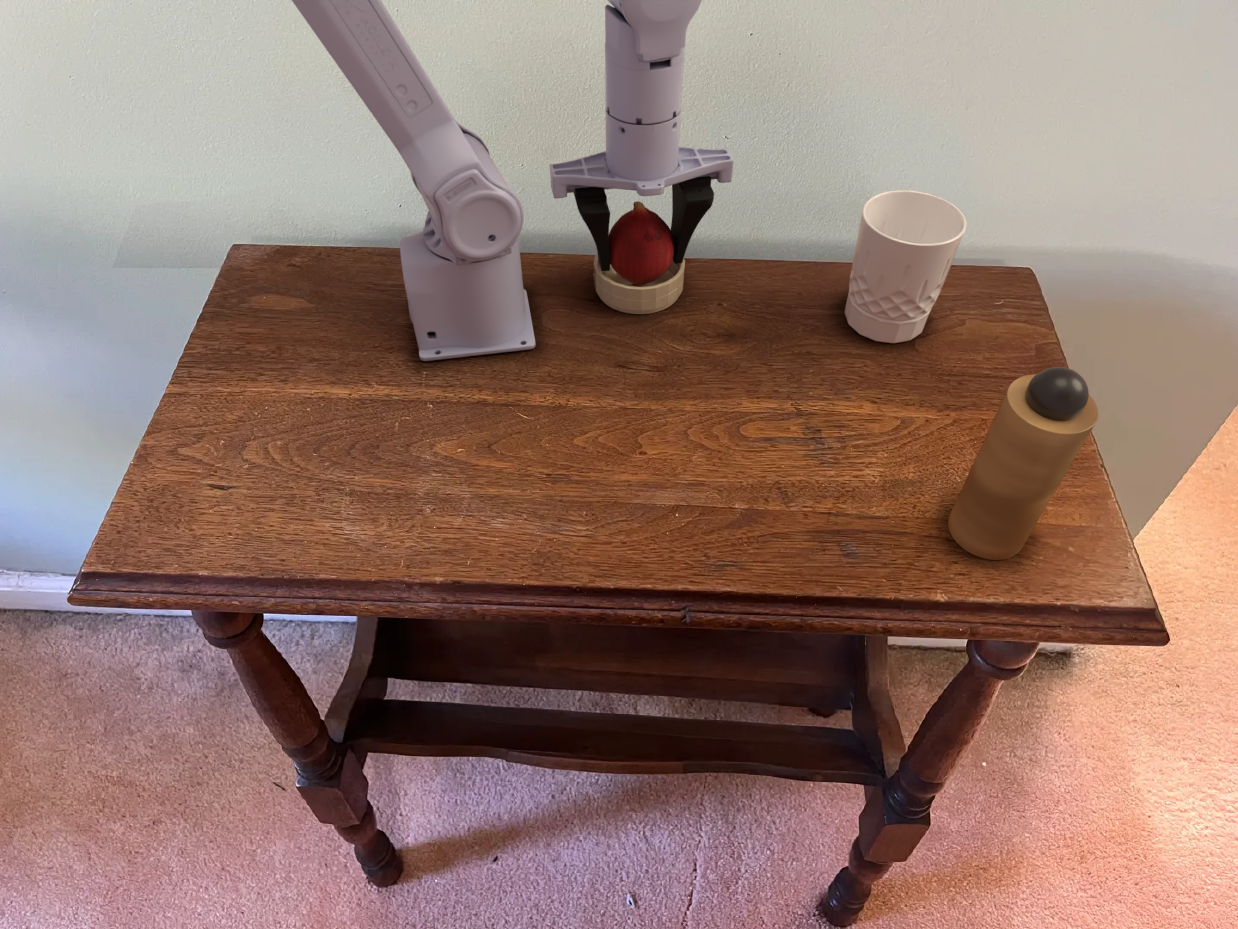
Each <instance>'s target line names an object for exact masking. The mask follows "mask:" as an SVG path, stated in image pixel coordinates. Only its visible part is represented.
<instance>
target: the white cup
mask: <svg viewBox="0 0 1238 929" xmlns="http://www.w3.org/2000/svg"><path fill="white" fill-rule="evenodd" d="M967 225H968V224H967V218H966V217H965V215H964V213H963V212H962V211H961V210H960V209H959V207H957V206H956V205H955V204H953V203H952V202H950V201H949V200H946V199H945V198H942V197H940V196H937V195H934V194H931V193H928V192H923V191H919V190H910V189H909V190H907V189H906V190H904V189H898V190H896V189H895V190H888V191H883V192H880V193H878V194H875V195H873V196H871V197H870V198H868V199H867V200H866V202H864V204H863V206H862V209H861V214H860V221H859V226H858V230H857V236H856V241H855V246H854V251H853V256H852V263H851V271H850V275H849V283H848V294H847V298H846V303H845V307H844V316H845V318H846V322H847V324H848V326H850V328H852V329H853V330H854V331H855V332H856V333H857V334H859V335H861V336H862V337H865V338H867V339H870V340H872V341H874V342H880V343H887V344H888V343H889V344H898V343H905V342H909V341H911V340H913V339H915V338H916V337H918V336H919V335H920V334H922V333H923V330H924V328H925V326H926V323H927V320H928V318H929V315H930V313H931V311H932V309H933V307H934V305H935V304H936V302H937V299H938V298H939V296H940V294H941V291H942V289H943V286H944V284H945V282H946V279H947V277H948V274H949V272H950V270H951V267H952V265H953V262H954V260H955V258H956V254H957V252H958V249H959V247H960V245H961V241H962V240H963V238H964V235H965V232H966V231H967Z"/></svg>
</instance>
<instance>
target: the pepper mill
mask: <svg viewBox="0 0 1238 929" xmlns="http://www.w3.org/2000/svg"><path fill="white" fill-rule="evenodd" d="M1089 392H1090V391H1089V387H1088V385H1087V382H1086V380H1085V378H1084V377H1083V376H1082V375H1081V374H1080V373H1078V372H1077V371H1075V370H1074V369H1072V368H1068V367H1064V366H1053V367H1048V368H1045V369H1043V370H1041V371H1039V372H1038V373H1033V374H1027V375H1023V376H1021V377H1018V378H1016V379H1015V380H1013V381H1012V382H1011V383H1010V384H1009V386H1008V388H1007V390H1006V392H1005V394H1004V397H1003V398H1002V401H1001V403H1000V405H999V407H998V409H997V412H996V414H995V415H994V417H993V420H992V422H991V424H990V427H989V429H988V431H987V433H986V435H985V438H984V439H983V442H982V444H981V446H980V448H979V451H978V453H977V455H976V456H975V459H974V461H973V463H972V464H971V465H972V466H971V467H970V470H969V471H968V474H967V476H966V479H965V481H964V483H963V485H962V487H961V489H960V492H959V494H958V496H957V497H956V500H955V502H954V505H953V506H952V509H951V511H950V513H949V515H948V518H947V527H948V528H947V529H948V530H949V531H948V532H949V533H950V535H951V537H952V539H953V540H954V541H955V543H956V544H957V545H958V546H959V547H961V549H963V551H964V550H965V551H966V552H967V553H969V554H970V555H973V556H976V557H978V558H981V559H984V560H990V561H1003V560H1004V561H1005V560H1007V559H1010V558H1012V557H1015V556H1016V555H1017V554H1019V553H1020V552H1021V550H1022V549H1023V547H1024V545H1025V544H1026V542H1027V540H1028V538H1030V535H1031V534H1032V532H1033V530H1034V529H1035V527H1036V525H1037V523H1038V522H1039V520H1040V519H1041V517H1042V515H1043V513H1044V512H1045V510H1046V508H1047V507H1048V505H1049V503H1050V502H1051V500H1052V499H1053V497H1054V495H1055V494H1056V491H1057V490H1058V488H1059V487H1060V485H1061V483H1062V481H1063V479H1064V478H1065V476H1066V474H1067V473H1068V471H1069V469H1070V468H1071V466H1072V464H1073V463H1074V462H1075V459H1076V458H1077V456H1078V454H1079V453H1080V451H1081V449H1082V448H1083V445H1085V442H1086V441H1087V439H1088V437H1089V436H1090V434H1091V432H1092V431H1093V429H1094V427H1095V425H1096V424H1097V422H1098V420H1099V409H1098V405H1097V403H1096V402H1095V400H1094V399H1093V397H1092V396H1091V395H1090V394H1089Z"/></svg>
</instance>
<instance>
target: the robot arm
mask: <svg viewBox="0 0 1238 929" xmlns="http://www.w3.org/2000/svg"><path fill="white" fill-rule="evenodd" d="M291 2H292V3H293V4H294V7H296V9H297V10H298V11H299V12H300V15H301V16H302V17H303V18H304V20H305V21H306V23H307V24H308V26H309V27H310V29H311V30H312V31H313V33H314V34H315V36H316V37H317V38H318V40H319V42H320V43H321V44H322V45H323V47H324V48H325V50H326V51H327V52H328V54H329V56H330V57H331V58H332V60H333V61H334V62H335V64H336V66H338V68H339V70H340V71H341V72H342V74H343V75H344V77H345V78H346V80H347V81H348V82H349V84H350V85H351V87H352V88H353V89H354V91H355V92H356V94H357V95H358V97H359V98H360V99H361V101H362V102H363V104H364V105H365V107H366V108H367V109H368V110H369V112H370V113H371V115H372V117H373V118H374V119H375V120H376V122H377V123H378V125H379V126H380V127H381V129H382V130H383V132H384V133H385V135H386V136H387V137H388V139H389V140H390V142H391V143H392V144H393V146H394V148H396V150H397V152H398V153H399V155H400V156H401V158H402V160H403V161H404V163H405V165H406V166H407V168H408V169H409V172H410V177H411V180H412V182H413V184H414V186H415V188H416V189H417V191H418V192H419V194H420V195H421V197H422V199H423V202H424V204H425V205H426V207H427V215H426V218H425V221H424V227H423V229H422V230H421V231H420V232H417V233H414V234H411V235H407V236H403V237H401V238H399V252H400V253H399V254H400V263H401V269H402V271H401V272H402V276H403V283H404V290H405V294H406V299H407V303H408V304H407V305H408V306H407V307H408V313H409V319H410V322H411V323H412V325H413V329H414V330H413V331H414V334H415V338H416V343H417V347H418V348H417V349H418V356H419V359H420V361H423V362H431V361H438V360H440V361H441V360H449V359H457V358H466V357H473V356H484V355H493V354H501V353H509V352H510V353H511V352H519V351H529V350H532V349H535V347H536V344H537V343H536V338H535V333H534V332H535V331H534V326H533V320H532V315H531V311H530V304H529V297H528V293H527V290H526V289H525V288H524V281H523V280H524V279H523V270H522V260H521V252H520V251H521V250H520V239H519V237H520V234H521V232H522V229H523V226H524V221H525V220H524V218H525V217H524V216H525V215H524V208H523V205H522V202H521V200H520V199H519V196H518V195H517V193H516V192H515V191H514V190H513V189H512V187H510V186H509V185H508V183H507V181H506V180H505V178H504V176H503V175H502V173H501V171H500V170H499V168H498V167H497V165H496V164H495V162H494V160H493V159H492V157H491V154H490V150H489V148H488V147H487V145H486V144H485V142H484V140H483V139H482V138H481V137H480V136H479V135H477V133H475V132H473V131H472V130H470V129H468V128H466V127H464V126H463V125H462V124H461V123H459V121H457V119H456V118H455V116H454V115H453V113H452V112H451V111H450V108H449V107H448V106H447V104H446V102H445V100H443V98H442V96H441V95H440V93H439V92H438V90H437V88H436V87H435V85H434V84H433V82H432V80H431V79H430V77H429V76H428V74H427V72H426V71H425V69H424V67H423V66H422V64H421V62H420V61H419V59H418V58H417V56H416V54H415V53H414V51H413V50H412V48H411V46H410V45H409V42H408V41H407V40H406V38H405V37H404V35H403V33H402V32H401V30H400V28H399V27H398V26H397V24H396V22H395V21H394V19H393V18H392V16H391V14H390V12H389V11H388V9H387V8H386V6H385V4H384V3H383V2H382V0H291ZM607 2H609V3H610V4H605V6H604V34H605V37H604V38H605V40H604V74H605V75H604V79H605V80H604V81H605V84H604V87H605V88H604V90H605V92H604V93H605V110H604V111H605V112H604V113H605V150H604V151H601V152H597V153H594V154H590V155H586V156H584V157H580V158H576V159H573V160H568V161H564V162H563V161H562V162H558V163H550V164H549V179H550V188H551V192H552V197H553V199H564V198H567V197H568V194H571V193H573V196H574V200H575V203H576V207H577V210H578V213H579V214H580V217H581V219H582V220H583V222H584V223H585V225H586V227H587V229H588V231H589V233H590V235H591V237H592V239H593V240H594V244H595V246H596V251H597V253H598V260H599V264H600V267H601V271H610V255H609V244H608V237H609V233H610V221H611V220H610V219H611V211H610V207H609V205H608V196H607V194H606V191H605V190H614V189H615V190H625V191H626V190H627V191H635V192H636V193H637V195H638V196H640V197H651V196H652V197H653V196H660V195H663V194H664V193H665V188H668V187H671V198H672V199H671V200H672V206H671V209H672V210H671V222H670V223H671V224H670V230H671V231H672V234H673V237H674V255H673V260H674V263H675V264H679V263H682V262H683V258H684V259H685V255H686V252H687V249H688V246H689V244H690V241H691V239H692V236H693V235H694V232H695V231H696V229H697V227H698V225H699V223H700V222H701V220H702V219H703V217H704V216H705V215H706V214H707V213H708V211H709V210H710V209H711V208H712V206H713V203H714V199H715V198H714V197H715V192H714V190H713V187H712V180H717V182H718V183H719V184H726V183H732V181H733V172H734V162H735V160H734V158H733V156H732V154H731V152H730V151H729V149H728V148H698V147H689V146H688V147H687V146H680V137H681V119H682V101H683V86H684V84H683V83H684V64H685V50H686V48H685V47H686V38H687V37H686V36H687V30H688V26H689V24H690V22H691V21H692V19H693V18H694V16H696V13H697V12H698V10H699V8H700V6H701V3H702V2H703V0H607ZM597 253H596V254H597Z"/></svg>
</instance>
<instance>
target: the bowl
mask: <svg viewBox="0 0 1238 929" xmlns="http://www.w3.org/2000/svg"><path fill="white" fill-rule="evenodd" d="M685 270H686V260H685V257H684V258H683V262H682V263H679V264H675V263H674V260H672V264H671V265H670V267H669V268H668V270H667V271H666V272H665V273H664V274H663V275H662V276H661V277H659V278H658V279H656V280H655V281H652V282H650V283H647V284H643V285H639V286H638V285H635V284H633V283H631V282H630V281H628V280H626V279H624V278H622V277H621V276H620V275H619V274H618V273H617V272H616V271H615V270H614V269H613V267H612V266H611V264H610V271H601V267H600V264H599V260H598V253H595V256H594V259H593V286H594V289H595V292H596V294H597V295H598V297H599V299H600V300H601V301H602V302H603V303H604V304H605V305H606V306H608V307H609V308H611V309H613V310H616V311H618V312H621V313H626V314H632V315H648V314H654V313H657V312H661V311H664V310H665V309H668V308H670V307H671V306H672V305H673V304H675V302H677V301H678V299H679V297H680V296H681V294H682V292H683V290H684V284H685Z"/></svg>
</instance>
